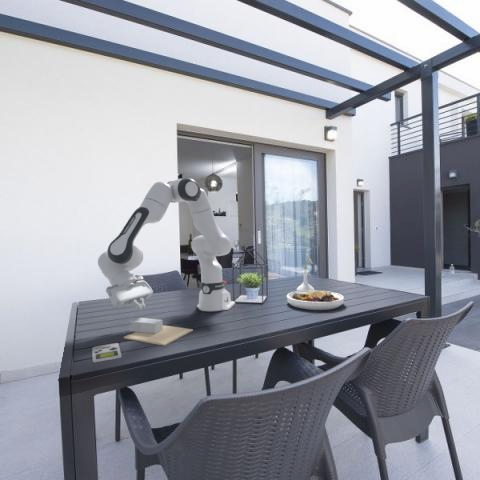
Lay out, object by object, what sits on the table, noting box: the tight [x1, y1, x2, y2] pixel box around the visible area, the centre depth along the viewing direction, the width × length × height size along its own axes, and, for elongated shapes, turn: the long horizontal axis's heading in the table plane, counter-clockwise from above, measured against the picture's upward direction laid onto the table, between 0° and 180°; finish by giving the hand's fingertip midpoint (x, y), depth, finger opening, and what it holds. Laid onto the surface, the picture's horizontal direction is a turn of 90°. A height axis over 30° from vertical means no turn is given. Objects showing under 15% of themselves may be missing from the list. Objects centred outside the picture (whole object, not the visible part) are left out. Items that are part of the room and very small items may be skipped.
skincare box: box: [129, 317, 164, 334], centre depth 130 cm, size 6×4×12 cm
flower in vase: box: [296, 253, 315, 291], centre depth 203 cm, size 13×11×25 cm
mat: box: [123, 324, 194, 347], centre depth 126 cm, size 18×20×1 cm
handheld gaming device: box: [92, 342, 123, 364], centre depth 109 cm, size 9×1×15 cm
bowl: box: [286, 290, 345, 311], centre depth 171 cm, size 30×30×8 cm
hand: (142, 308), depth 130 cm, fingers closed
